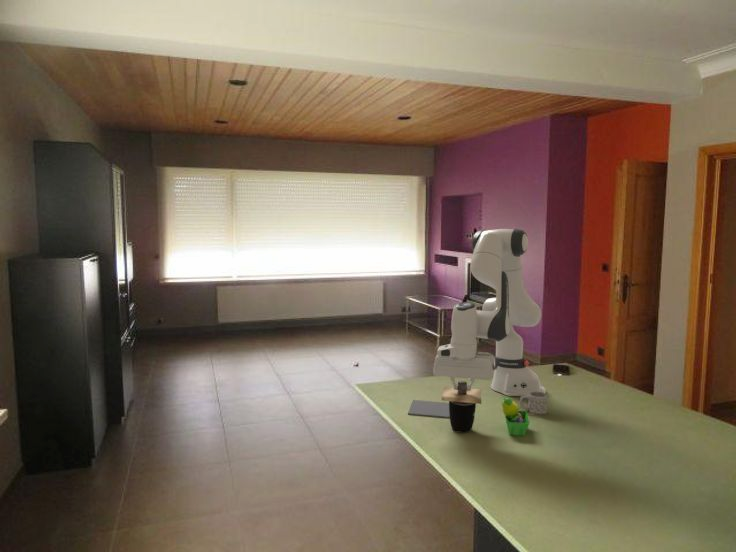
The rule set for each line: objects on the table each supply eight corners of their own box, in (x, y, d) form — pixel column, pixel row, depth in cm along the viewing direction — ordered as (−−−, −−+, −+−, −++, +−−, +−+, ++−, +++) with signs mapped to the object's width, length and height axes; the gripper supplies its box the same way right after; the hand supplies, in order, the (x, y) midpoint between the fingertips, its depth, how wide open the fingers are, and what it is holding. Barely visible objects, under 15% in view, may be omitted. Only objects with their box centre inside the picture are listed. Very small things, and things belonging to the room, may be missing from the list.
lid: (481, 391, 185) (481, 378, 185) (481, 403, 173) (481, 389, 172) (444, 388, 188) (444, 375, 187) (441, 400, 175) (442, 386, 175)
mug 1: (476, 434, 175) (477, 405, 174) (449, 433, 176) (450, 404, 174) (470, 421, 187) (472, 393, 186) (445, 420, 187) (446, 392, 186)
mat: (451, 404, 204) (451, 403, 204) (449, 418, 190) (449, 416, 190) (413, 401, 207) (413, 399, 207) (407, 414, 193) (407, 413, 193)
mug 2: (544, 408, 201) (545, 391, 200) (548, 415, 195) (549, 397, 194) (517, 407, 202) (518, 390, 201) (520, 413, 196) (521, 396, 195)
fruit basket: (529, 438, 173) (530, 405, 172) (501, 435, 175) (503, 402, 174) (526, 425, 184) (527, 394, 183) (500, 423, 186) (501, 392, 185)
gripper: (494, 350, 180) (493, 389, 181) (434, 346, 184) (433, 384, 185) (495, 354, 173) (493, 395, 175) (433, 350, 178) (432, 390, 179)
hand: (462, 389), depth 180 cm, fingers closed on lid, 3 cm apart
